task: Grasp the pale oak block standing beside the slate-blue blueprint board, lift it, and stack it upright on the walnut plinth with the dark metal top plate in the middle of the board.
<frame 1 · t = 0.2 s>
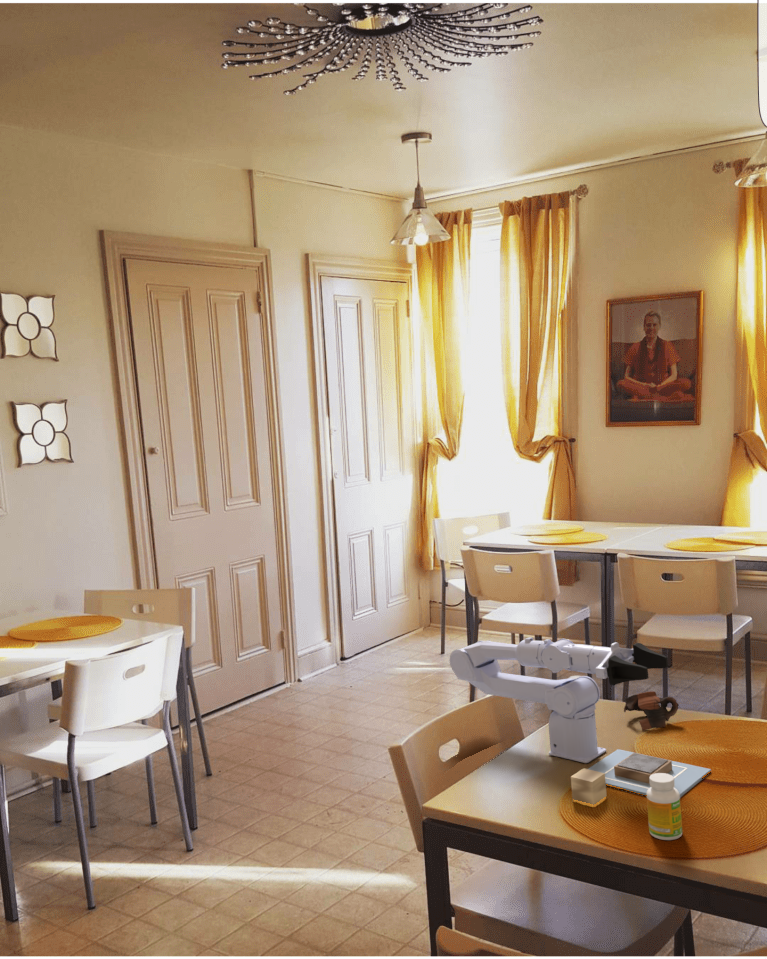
hand: (657, 667, 168), 21 cm above the table, tool horizontal, fingers open, 7 cm apart
supplement bottle: (665, 834, 146), on the table
pottery mug: (652, 723, 197), on the table
oak block: (589, 801, 161), on the table
blueprint board: (643, 775, 170), on the table
salt shaker: (581, 734, 194), on the table
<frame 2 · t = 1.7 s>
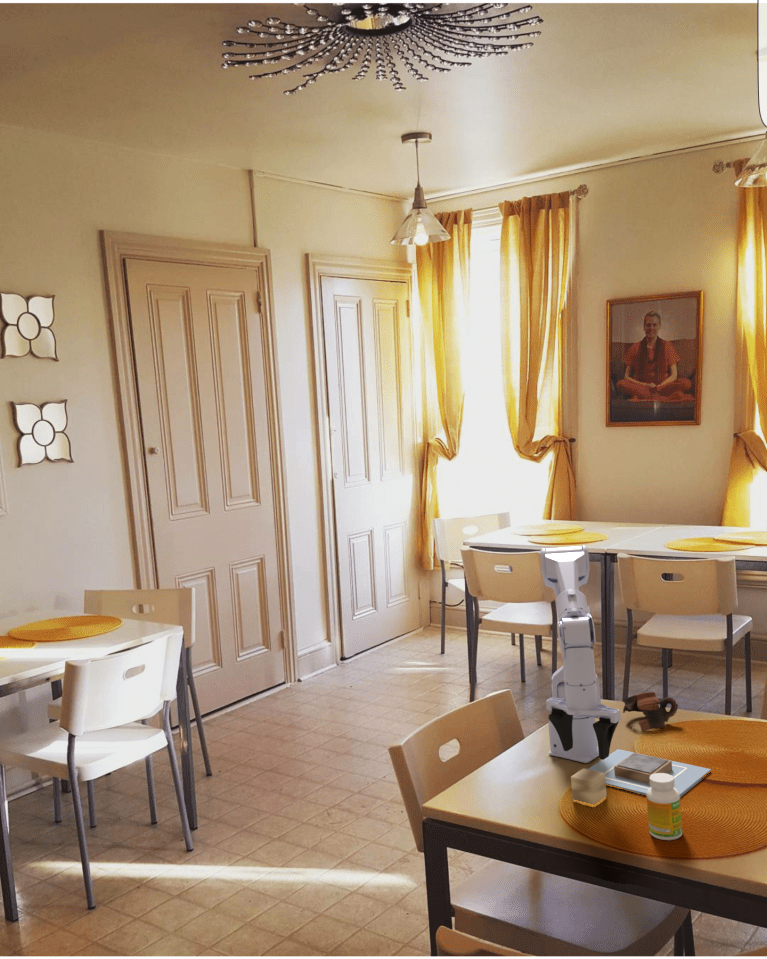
hand: (586, 753, 161), 9 cm above the table, tool pointing down, fingers open, 7 cm apart
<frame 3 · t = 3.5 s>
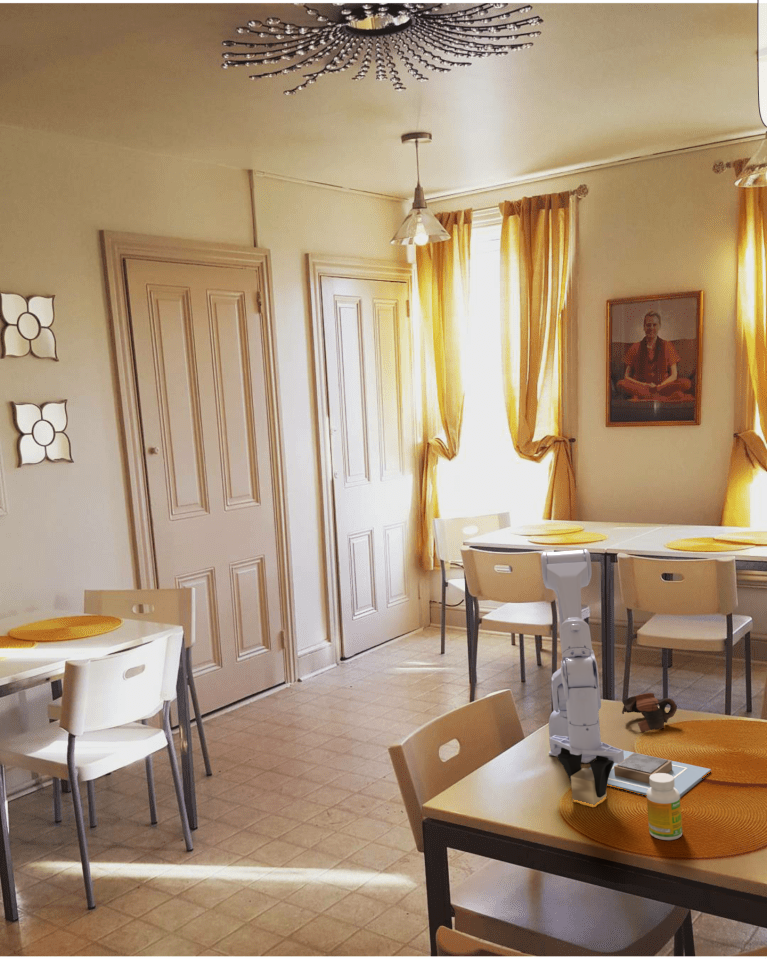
hand: (589, 792, 161), 2 cm above the table, tool pointing down, fingers closed on oak block, 4 cm apart
oak block: (589, 800, 161), on the table, touching gripper
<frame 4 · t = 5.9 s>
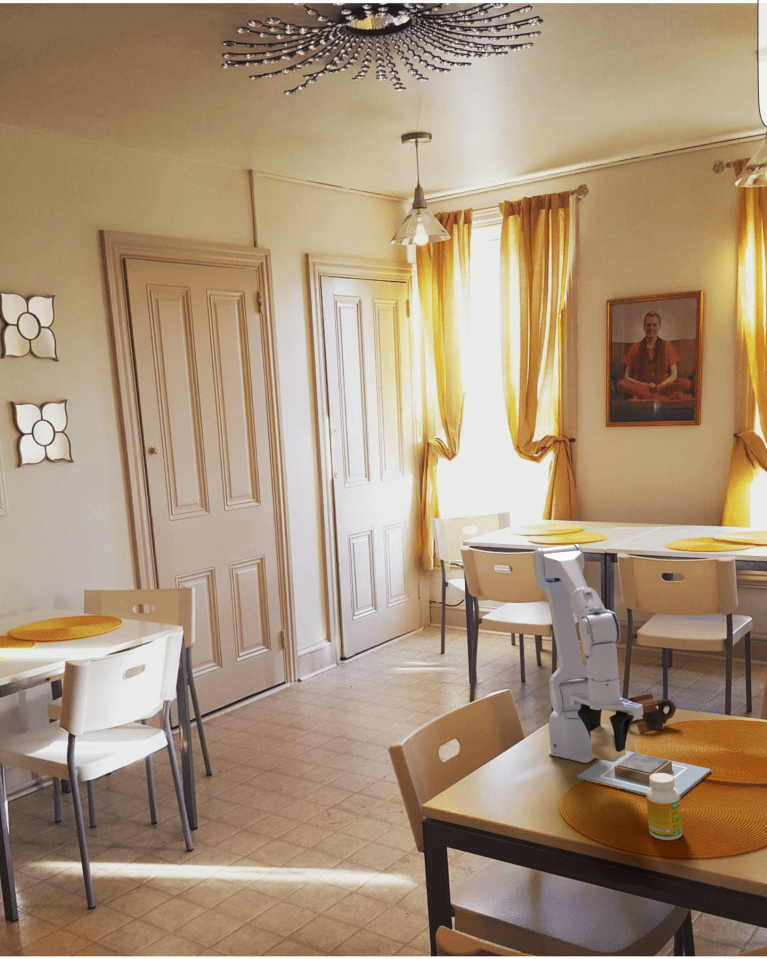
hand: (608, 747, 164), 8 cm above the table, tool pointing down, fingers closed on oak block, 4 cm apart
oak block: (609, 755, 164), point 7 cm above the table, touching gripper
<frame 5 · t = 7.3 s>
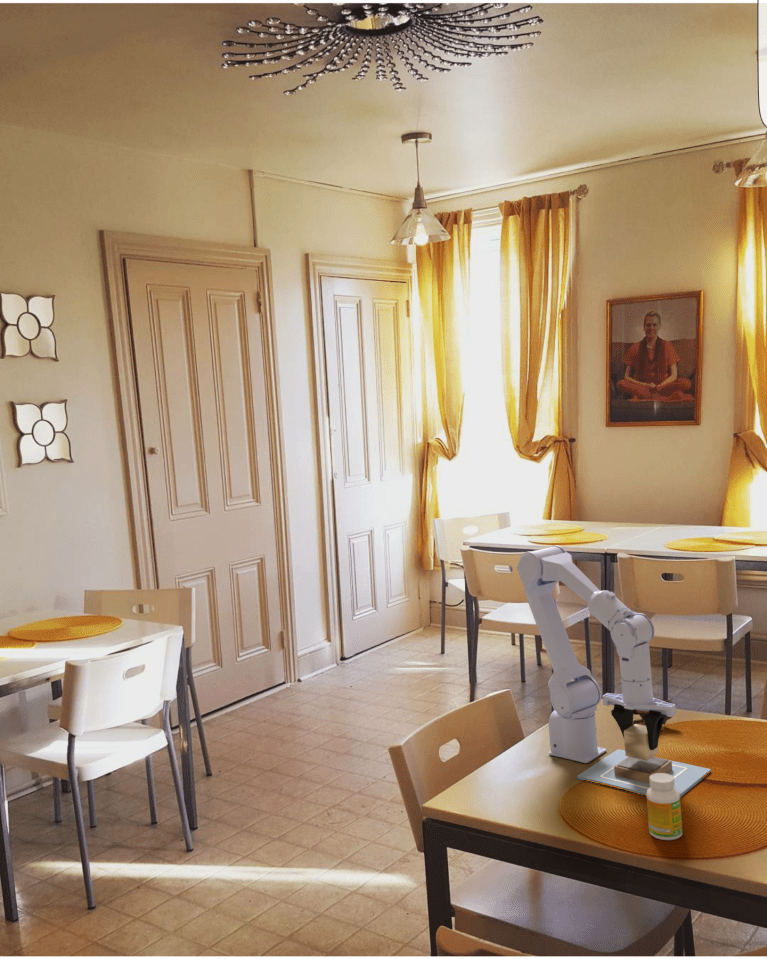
hand: (641, 745, 169), 6 cm above the table, tool pointing down, fingers closed on oak block, 4 cm apart
oak block: (641, 754, 169), point 4 cm above the table, touching gripper
when the fingers open (5 cm above the table, at t = 8.3 s): oak block stays where it is, resting on blueprint board.
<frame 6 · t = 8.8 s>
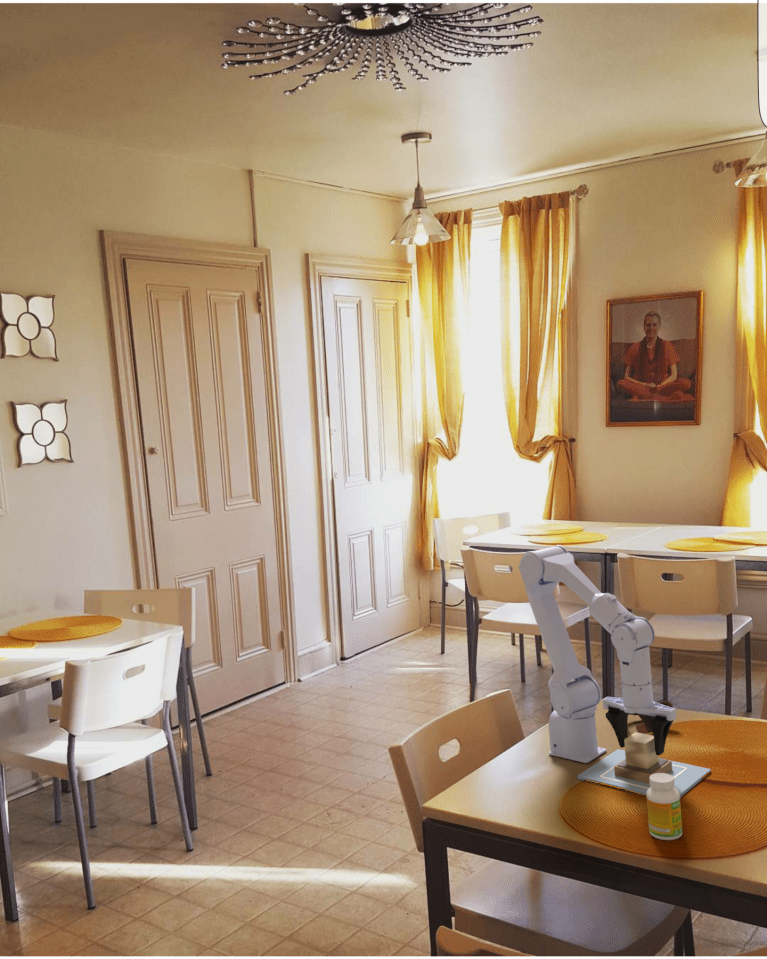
hand: (641, 749, 169), 5 cm above the table, tool pointing down, fingers open, 7 cm apart
oak block: (642, 762, 170), point 3 cm above the table, touching blueprint board
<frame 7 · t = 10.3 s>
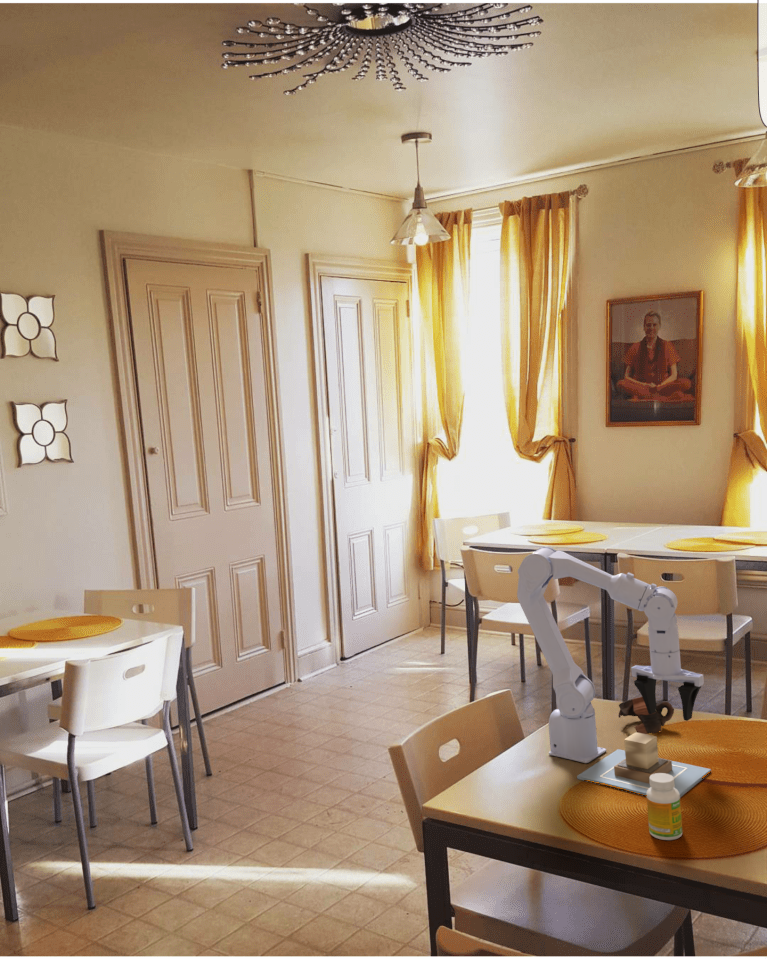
hand: (669, 715, 174), 9 cm above the table, tool pointing down, fingers open, 7 cm apart
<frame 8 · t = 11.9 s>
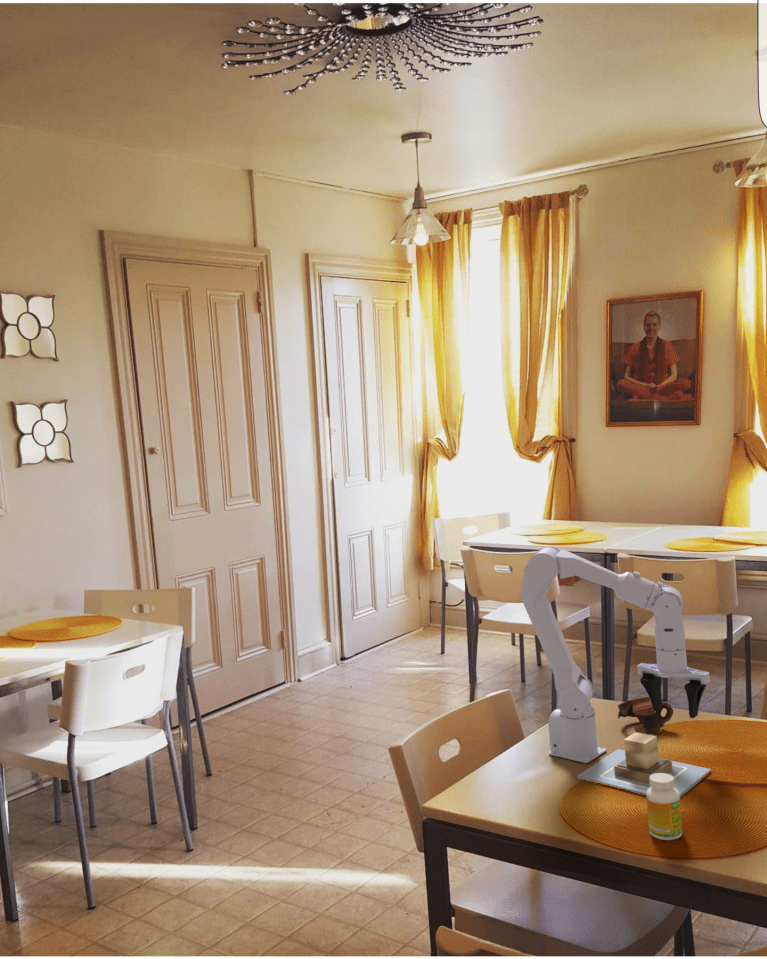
hand: (675, 713, 176), 9 cm above the table, tool pointing down, fingers open, 7 cm apart
at the end: oak block 0.1 cm off-centre on the blueprint board, point 2.6 cm above the blueprint board's base; oak block tilted 0°; the gripper is holding nothing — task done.
